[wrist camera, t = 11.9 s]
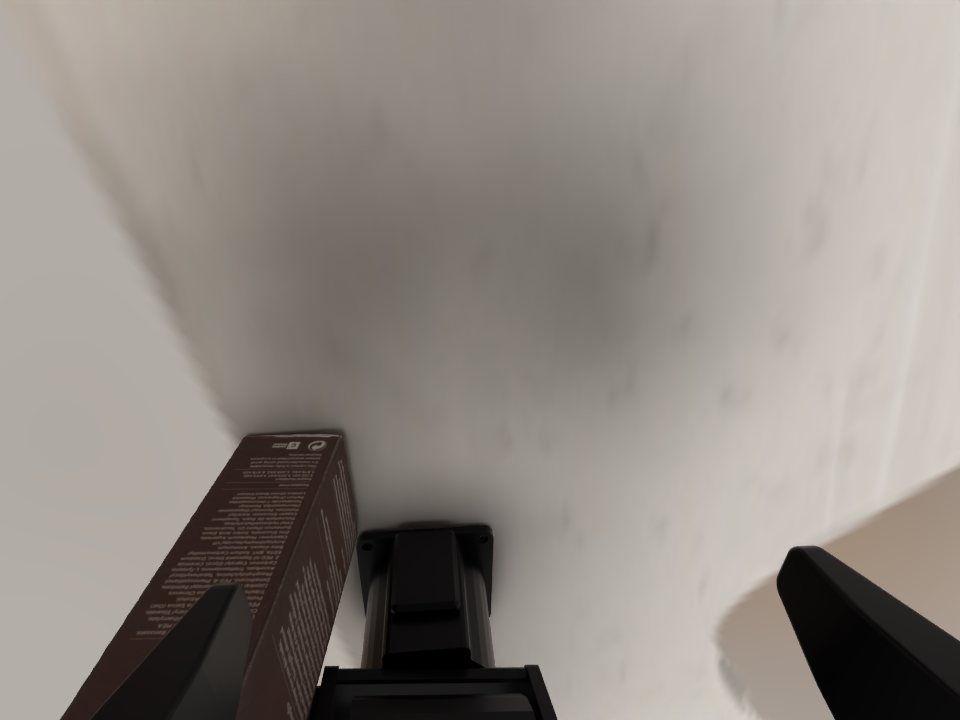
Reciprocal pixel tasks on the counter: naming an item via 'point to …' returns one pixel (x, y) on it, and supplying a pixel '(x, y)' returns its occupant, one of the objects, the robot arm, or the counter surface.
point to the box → (253, 573)
